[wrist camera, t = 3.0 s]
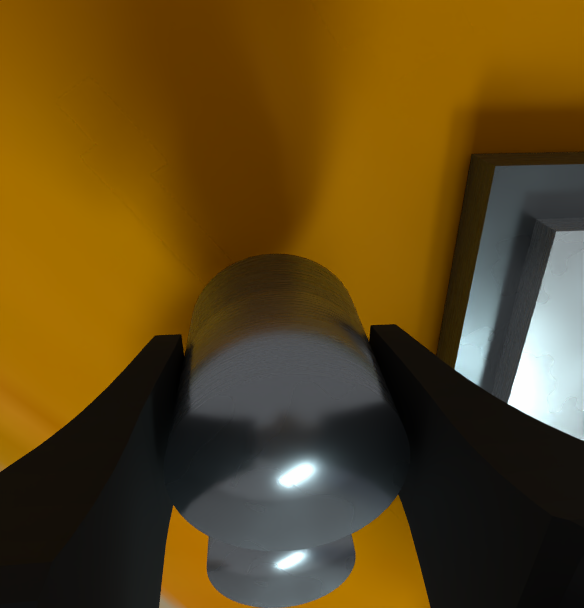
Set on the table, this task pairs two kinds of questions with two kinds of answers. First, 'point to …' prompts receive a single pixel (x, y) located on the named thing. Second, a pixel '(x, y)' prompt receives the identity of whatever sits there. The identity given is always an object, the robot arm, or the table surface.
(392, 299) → the table surface
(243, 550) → the cylinder
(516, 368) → the dial scale
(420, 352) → the robot arm
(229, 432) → the cylinder
